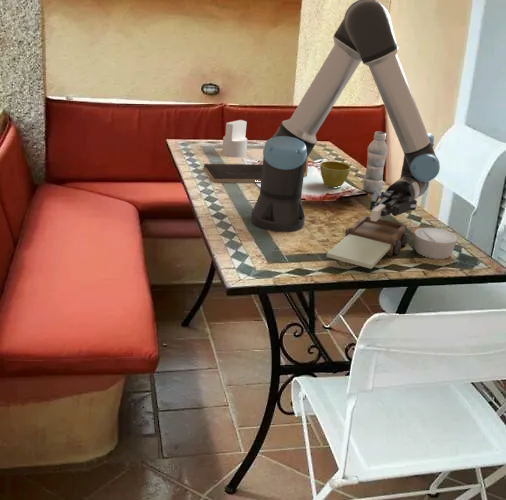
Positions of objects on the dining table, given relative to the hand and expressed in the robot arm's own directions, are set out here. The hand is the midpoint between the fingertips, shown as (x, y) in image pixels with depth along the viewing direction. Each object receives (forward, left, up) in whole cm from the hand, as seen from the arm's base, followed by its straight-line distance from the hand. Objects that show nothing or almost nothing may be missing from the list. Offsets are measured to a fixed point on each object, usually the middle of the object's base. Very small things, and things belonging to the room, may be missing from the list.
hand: (373, 215), depth 178 cm
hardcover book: (-13, +69, -12) cm, 72 cm away
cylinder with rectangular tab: (-8, +96, -11) cm, 97 cm away
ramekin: (+20, 0, -11) cm, 23 cm away
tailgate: (+2, +3, -8) cm, 9 cm away
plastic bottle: (+26, +50, -11) cm, 57 cm away
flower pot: (+15, +57, -11) cm, 60 cm away
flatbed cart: (+6, +7, -11) cm, 15 cm away
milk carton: (+6, +72, -11) cm, 73 cm away
